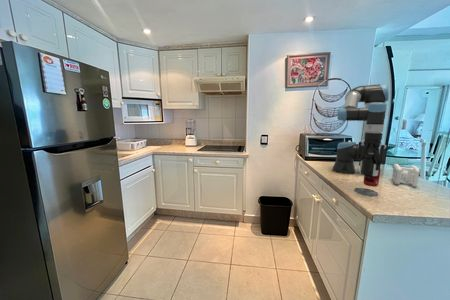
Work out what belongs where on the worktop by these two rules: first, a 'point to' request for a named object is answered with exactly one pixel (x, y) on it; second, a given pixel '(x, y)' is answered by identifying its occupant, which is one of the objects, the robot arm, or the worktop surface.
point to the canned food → (372, 179)
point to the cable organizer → (405, 174)
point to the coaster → (366, 191)
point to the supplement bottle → (368, 164)
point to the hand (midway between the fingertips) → (368, 173)
